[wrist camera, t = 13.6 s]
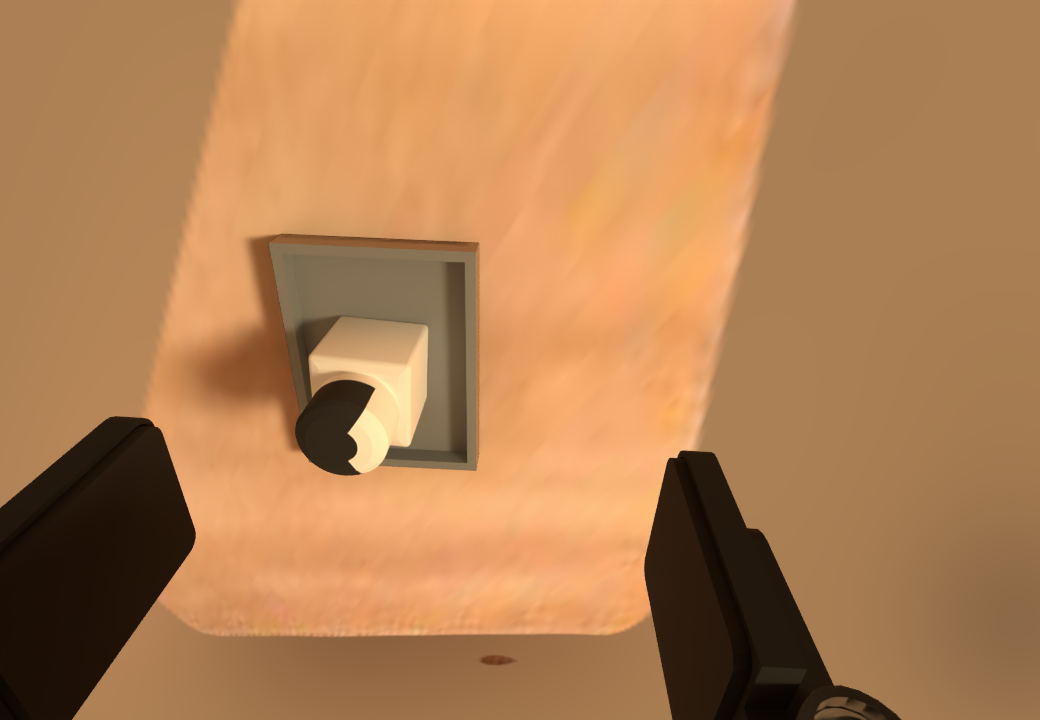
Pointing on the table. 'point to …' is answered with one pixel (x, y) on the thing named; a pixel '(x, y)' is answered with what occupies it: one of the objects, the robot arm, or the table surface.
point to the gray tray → (401, 298)
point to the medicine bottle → (363, 393)
